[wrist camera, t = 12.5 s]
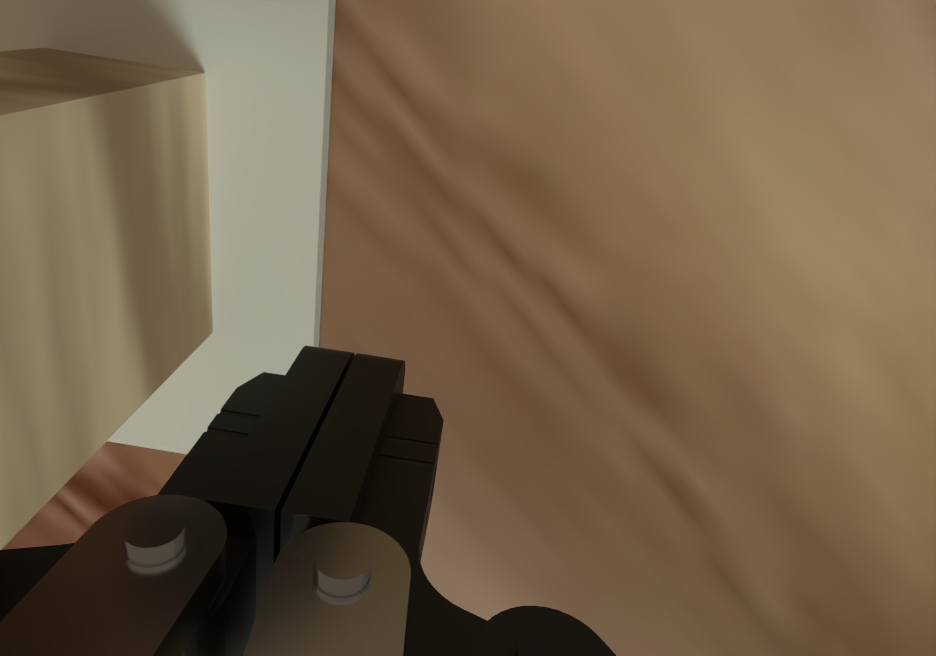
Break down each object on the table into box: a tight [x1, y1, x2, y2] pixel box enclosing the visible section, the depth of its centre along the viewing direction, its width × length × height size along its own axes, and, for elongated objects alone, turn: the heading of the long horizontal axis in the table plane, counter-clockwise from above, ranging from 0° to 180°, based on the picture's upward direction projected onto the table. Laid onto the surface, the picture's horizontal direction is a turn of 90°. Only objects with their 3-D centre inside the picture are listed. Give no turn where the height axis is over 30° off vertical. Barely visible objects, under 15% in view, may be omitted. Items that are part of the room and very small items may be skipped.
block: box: [0, 48, 213, 550], centre depth 14 cm, size 4×7×9 cm, turn 172°
